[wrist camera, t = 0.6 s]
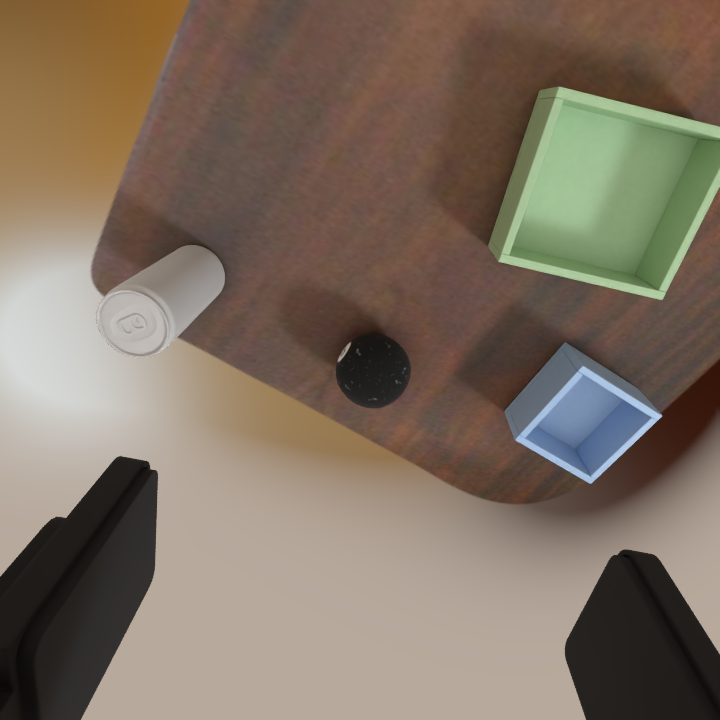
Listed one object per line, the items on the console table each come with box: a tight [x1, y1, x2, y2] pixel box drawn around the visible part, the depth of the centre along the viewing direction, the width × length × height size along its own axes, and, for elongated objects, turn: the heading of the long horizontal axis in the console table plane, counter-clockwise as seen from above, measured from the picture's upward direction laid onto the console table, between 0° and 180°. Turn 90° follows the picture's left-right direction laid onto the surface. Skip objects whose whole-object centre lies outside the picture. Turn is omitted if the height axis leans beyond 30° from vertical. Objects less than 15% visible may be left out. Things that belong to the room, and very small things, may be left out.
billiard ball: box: [336, 333, 411, 408], centre depth 42 cm, size 6×6×6 cm
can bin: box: [504, 342, 662, 484], centre depth 44 cm, size 8×8×5 cm
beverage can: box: [96, 245, 225, 358], centre depth 37 cm, size 5×5×12 cm
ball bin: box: [488, 87, 720, 300], centre depth 36 cm, size 11×12×5 cm
